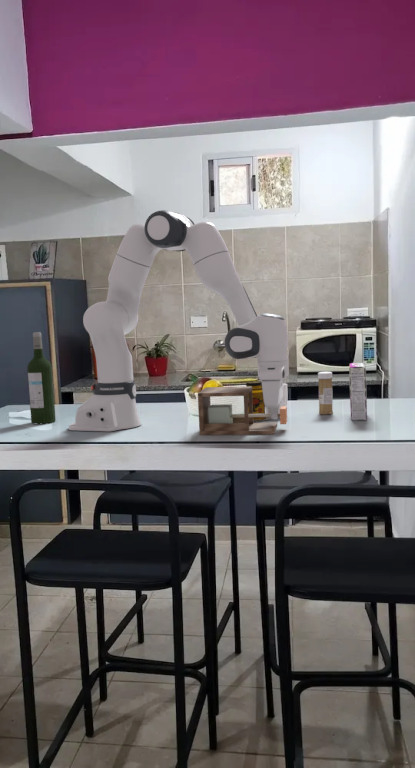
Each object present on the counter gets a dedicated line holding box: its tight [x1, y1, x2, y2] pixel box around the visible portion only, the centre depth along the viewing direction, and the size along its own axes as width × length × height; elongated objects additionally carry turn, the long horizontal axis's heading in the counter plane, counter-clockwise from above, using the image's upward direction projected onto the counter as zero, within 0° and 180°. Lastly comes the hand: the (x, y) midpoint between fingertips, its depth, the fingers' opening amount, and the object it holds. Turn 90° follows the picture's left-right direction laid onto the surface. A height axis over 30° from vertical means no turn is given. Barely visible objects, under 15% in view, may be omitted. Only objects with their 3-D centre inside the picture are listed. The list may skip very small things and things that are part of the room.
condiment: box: [245, 380, 270, 422], centre depth 220 cm, size 7×8×12 cm
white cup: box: [265, 382, 288, 414], centre depth 226 cm, size 8×8×10 cm
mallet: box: [208, 403, 288, 425], centre depth 202 cm, size 22×6×6 cm, turn 80°
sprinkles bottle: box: [317, 371, 334, 415], centre depth 224 cm, size 5×5×13 cm
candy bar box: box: [348, 362, 368, 421], centre depth 214 cm, size 11×5×16 cm, turn 168°
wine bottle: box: [26, 331, 56, 425], centre depth 232 cm, size 8×8×30 cm
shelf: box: [197, 386, 278, 436], centre depth 202 cm, size 21×13×12 cm, turn 80°
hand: (274, 418), depth 201 cm, fingers closed on mallet
